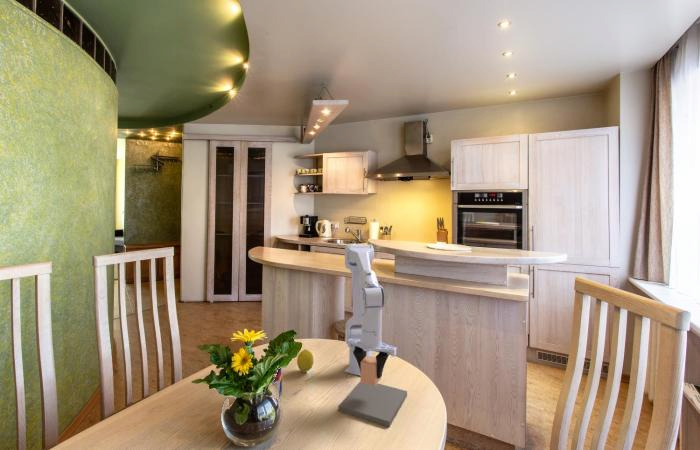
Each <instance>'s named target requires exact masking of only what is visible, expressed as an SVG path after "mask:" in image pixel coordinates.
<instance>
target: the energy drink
mask: <svg viewBox="0 0 700 450" xmlns="http://www.w3.org/2000/svg"><path fill="white" fill-rule="evenodd" d="M272 385H273V386H275V388H276V389H277V391H278V393H279V396H280V397H281V396H282V395H283V367H282V368H280V369H278V372H277V375H276V377H275V380H274V381H273V382H272Z"/></svg>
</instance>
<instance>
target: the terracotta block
mask: <svg viewBox="0 0 700 450" xmlns="http://www.w3.org/2000/svg"><path fill="white" fill-rule="evenodd" d="M381 380H382V377H381V378H380V379H378V378H377V361H376V356H373V357H372V356H368V355H367V356H366V357H365V358H364V359H363V360H362V361H361V376H360V381H361V382H362V383H366V384H369V385H373V386H376V385H377V383H378V384H379V382H381Z"/></svg>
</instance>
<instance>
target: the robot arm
mask: <svg viewBox="0 0 700 450" xmlns="http://www.w3.org/2000/svg"><path fill="white" fill-rule="evenodd" d="M374 257H375V250H374V246H373V245H372V244H371V243H370V244H349V243H348V244H346V245H345V246H344V265H345V268H346V269H348V270H349V271H350V275H351V288H352V289H351V293H352V295H351V297H352V316H351V317H350V318H349V319H348V320H347V321H346V323H345V331H344V332H345V333H344V335H345V336H344V337H345V339H344V340H345V344H346V345H347V348H349V352H348V353H349V355H348V358H349V360H348V363H349V364H348V366H347V368H345V370H344V373H347V374H350V375H351V374H352V375H355V376H358V377H359V376H360V377H361V361H362V360H363V359H364V358H365V357H366V356H367V355H368V356H372V357H374V353H375V352H376V353H378V354H377V355H376V356H375V357H376V361H377V378H378V379H380V378H381V379H382V376H383V371H384V368H385V365H386V362H387V360H388V358H389V356H391V357H394V358H395V356H396V355H397V349H398V348H397V346H393V345H390V344H387V343H384V342H382V334H383V333H382V330H383V327H382V326H383V324H382V323H383V321H382V320H383V318H382V317H383V308H384V307H385V302H386V300H385V298H386V297H385V290H384V287H383V286H382V285H380V284H379V281H378V278H377V275H376V273H375V271H374V270H372V267H371V265H372V263H373V260H374V259H375V258H374Z"/></svg>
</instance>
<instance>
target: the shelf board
mask: <svg viewBox="0 0 700 450" xmlns="http://www.w3.org/2000/svg"><path fill="white" fill-rule="evenodd" d="M407 397H408V391H407V390H405V389H400V388H396V387H393V386H390V385H385V384H381V383H379V382H378V383H377V385H376V386H373V385H369V384H366V383H362V382H361V380H359V382H358V383H357V384H356V385H355V387H354V388H353V389H352V390H351V391H350V392H349V394H347V396H346V397H345V398H344V399H343V400H342V401H341V403H339V405H338V412H340V413H344V414H347V415H350V416H353V417H355V418H360V419H363V420H364V421H369V422H372V423H376V424H378V425H381V426H385V427H387V428H390V427H391V425H392V424H393V421H394V420H395V418H396V416H397V415H398V413H399V411H400V410H401V408H402V405H403V404H404V403H405V401H406V398H407Z"/></svg>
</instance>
